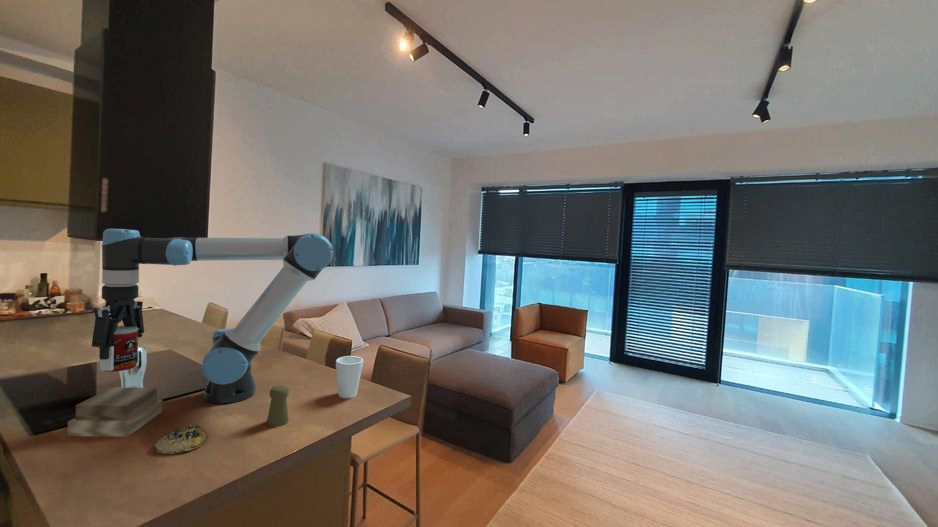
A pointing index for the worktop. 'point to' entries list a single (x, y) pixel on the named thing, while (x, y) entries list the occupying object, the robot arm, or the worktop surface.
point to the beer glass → (135, 371)
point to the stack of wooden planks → (115, 412)
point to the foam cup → (348, 375)
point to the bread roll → (182, 440)
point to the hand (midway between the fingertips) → (119, 364)
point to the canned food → (125, 348)
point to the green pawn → (278, 406)
